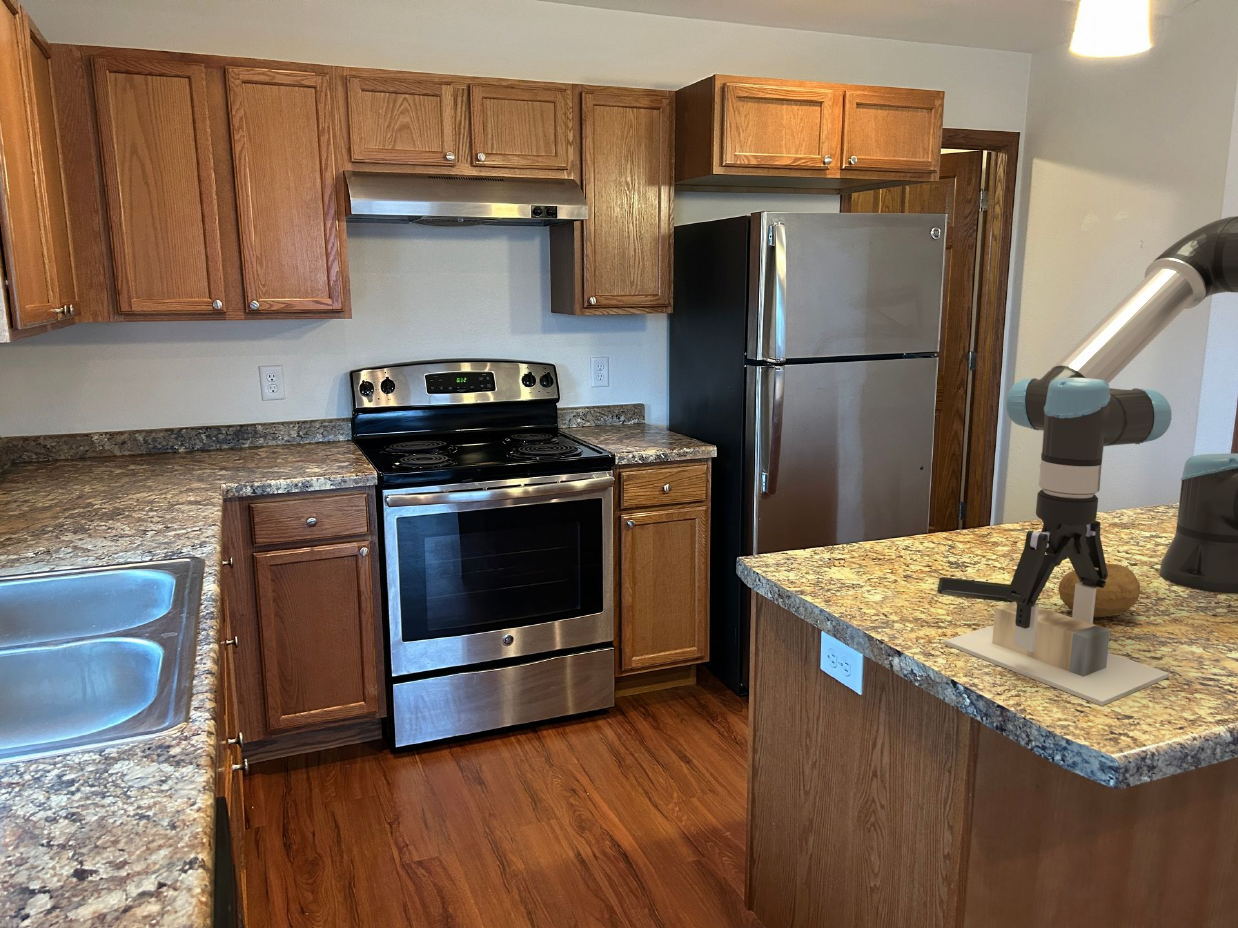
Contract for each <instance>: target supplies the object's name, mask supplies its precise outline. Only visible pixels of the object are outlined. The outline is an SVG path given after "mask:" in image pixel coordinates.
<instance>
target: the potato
mask: <svg viewBox="0 0 1238 928" xmlns="http://www.w3.org/2000/svg"><path fill="white" fill-rule="evenodd" d="M1106 567H1107V572H1108V577H1107V579H1106V580H1104V581H1105V582H1106V584H1105V586H1104V588H1100V587H1097V586H1096V597H1095V606H1094V616H1093V619H1097V618H1104V617H1105V618H1106V617H1111V616H1117V615H1120V614H1122V613H1123V612H1126V611H1127V610H1129V609H1130V608H1132V607H1133V606H1135V604H1136V603H1137V601H1138V599H1139V597H1140V594H1141V587H1140V586H1141V584H1140V582H1139V580H1138V578H1137V576H1136V575H1135V573H1134V572H1133V571H1132V570H1131V569H1130V568H1127V567H1126V566H1124V565H1122V564H1116V563H1115V564H1114V563H1108V564H1107V563H1106ZM1095 569H1097V570H1098V568H1095ZM1077 583H1080V584H1082V582H1080V580H1079V578H1078V576H1077V574H1076V572H1075V570H1074V569H1073V570H1072V571H1069V572H1068V573H1066V574H1064V576H1063V577H1062V578H1061V580H1060V582H1059V585H1058V592H1059V597H1060V599H1061V601H1062V602H1063V604H1064V605H1065V606H1066V607H1067V608H1068V609H1070V610H1071V611H1073V603H1074V593H1075V584H1077Z"/></svg>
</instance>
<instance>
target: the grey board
mask: <svg viewBox="0 0 1238 928" xmlns="http://www.w3.org/2000/svg"><path fill="white" fill-rule="evenodd" d="M993 626H994V624H993V625H989V626H987V627H982V628H979V629H976V630H973V631H970V632H968V633H967V632H966V633H963V634H961V635H958V636H954V637H951V638H948V639H944V645H945V646H948V645H949V646H948V647H951V648H954V649H956V650H958V649H959V650H958V651H960V650H961V652H963V653H966V654H968V655H971V656H973V657H975V658H976V657H977V658H979V659H982V660H983V659H984V661H987V662H989V663H991V664H995V665H997V666H998V667H999V666H1000V667H1002V668H1004V667H1005V669H1006V668H1007V670H1009V671H1011V670H1012V672H1015V673H1017V674H1020V675H1022V676H1025V677H1028V678H1030V679H1032V680H1035V681H1036V682H1040V683H1043V684H1045V685H1047V686H1050V687H1053V688H1054V689H1058V690H1060V691H1062V692H1065V693H1067V694H1071V695H1073V696H1076V697H1078V698H1081V699H1083V700H1086V701H1088V702H1091V703H1094V704H1096V705H1098V706H1101V707H1103V706H1106V705H1107V704H1110V703H1112V702H1115V701H1117V700H1120V699H1122V698H1123V697H1126V696H1129V695H1130V694H1133V693H1136V692H1139V691H1140V690H1142V689H1145V688H1147V687H1149V686H1152V685H1154V684H1156V683H1158V682H1161V681H1163V680H1165V679H1168V678H1169V677H1170V672H1167V671H1165V670H1161V669H1158V668H1156V667H1152V666H1149V665H1146V664H1143V663H1141V662H1137V661H1135V660H1132V659H1128V658H1125V657H1123V656H1119V655H1117V654H1114V653H1111V652H1108V656H1107V665H1106V668H1104V669H1101V670H1099V671H1096V672H1094V673H1091V674H1089V675H1086V676H1084V677H1083V676H1080V675H1077V674H1075V673H1072V672H1069V671H1067V670H1064V669H1061V668H1059V667H1056V666H1053V665H1050V664H1048V663H1045V662H1042V661H1040V660H1037V659H1034V658H1032V657H1029V656H1026V655H1023V654H1021V653H1018V652H1015V651H1013V650H1010V649H1007V648H1005V647H1002V646H999V645H996V644H994V643H992V638H993Z"/></svg>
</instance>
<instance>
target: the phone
mask: <svg viewBox="0 0 1238 928" xmlns="http://www.w3.org/2000/svg"><path fill="white" fill-rule="evenodd" d="M1010 584H1011V583H1000V582H990V581H983V580H982V581H981V580H972V579H964V578H955V577H948V576H945V577H939V579H938V584H937V594H939V595H943V596H951V597H959V598H968V599H974V600H975V599H976V600H985V601H993V602H1000V601H1004V602H1003V603H1008V602H1009V603H1011V602H1014V601H1011V600H1008V599H1007V598H1006V595H1007V592H1008V590H1009V587H1010Z"/></svg>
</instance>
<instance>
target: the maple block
mask: <svg viewBox="0 0 1238 928" xmlns="http://www.w3.org/2000/svg"><path fill="white" fill-rule="evenodd" d="M1016 610H1017V603H1016V602H1011V603H1008V602H1007V603H1005V604H1004V603H1003V604H1001V605H998V606H995V607H994V614H993V616H994V618H993V625H994V626H993V638H992V643H994V644H996V645H999V646H1002V647H1005V648H1007V649H1010V650H1013V651H1015V652H1018V653H1021V654H1023V655H1026V656H1029V657H1032V658H1034V659H1037V660H1040V661H1042V662H1045V663H1048V664H1050V665H1053V666H1056V667H1059V668H1061V669H1064V670H1067V671H1069V672H1072V673H1075V674H1077V675H1080V676H1083V677H1084V676H1086V675H1089V674H1091V673H1094V672H1096V671H1099V670H1101V669H1104V668H1106V665H1107V656H1108V653H1109V646H1110V645H1109V644H1110V637H1111V629H1109V628H1106V627H1103V626H1099V625H1098V624H1094V623H1093V624H1091V623H1088V622H1084V621H1081V620H1078V619H1075V618H1072V616H1068V615H1066V614H1062V613H1059V612H1056V611H1053V610H1049V609H1046V608H1043V607H1040V606H1039V613H1038V624H1037V634H1036V645H1035V651H1034V652H1029V651H1027V650H1024V649H1021V648H1019V647H1016V646H1014V638H1015V627H1016V623H1015V621H1016Z"/></svg>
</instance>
